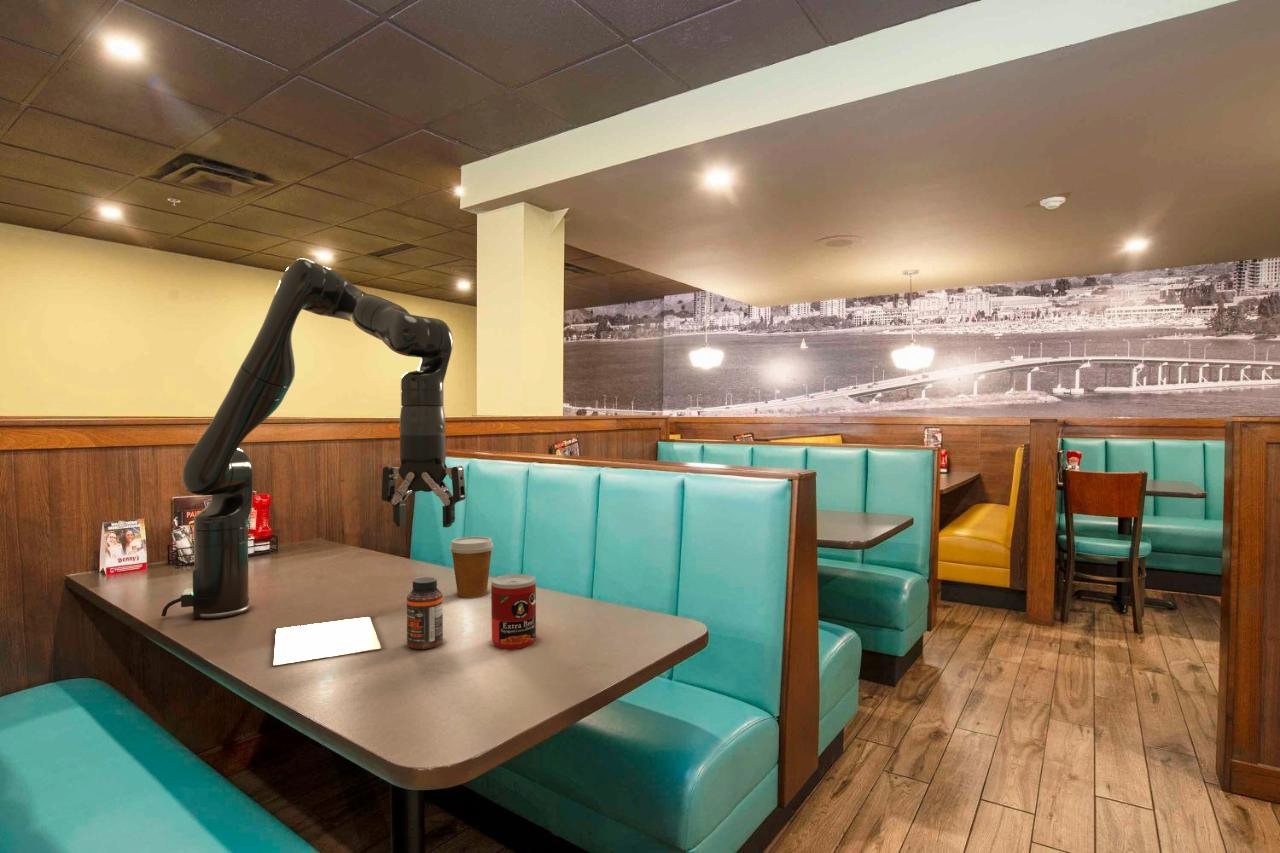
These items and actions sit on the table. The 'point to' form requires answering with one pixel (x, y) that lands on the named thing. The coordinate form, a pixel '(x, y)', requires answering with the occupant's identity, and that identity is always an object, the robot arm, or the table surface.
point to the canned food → (513, 611)
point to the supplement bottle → (424, 614)
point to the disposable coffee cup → (471, 565)
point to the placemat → (324, 640)
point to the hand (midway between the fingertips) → (424, 526)
